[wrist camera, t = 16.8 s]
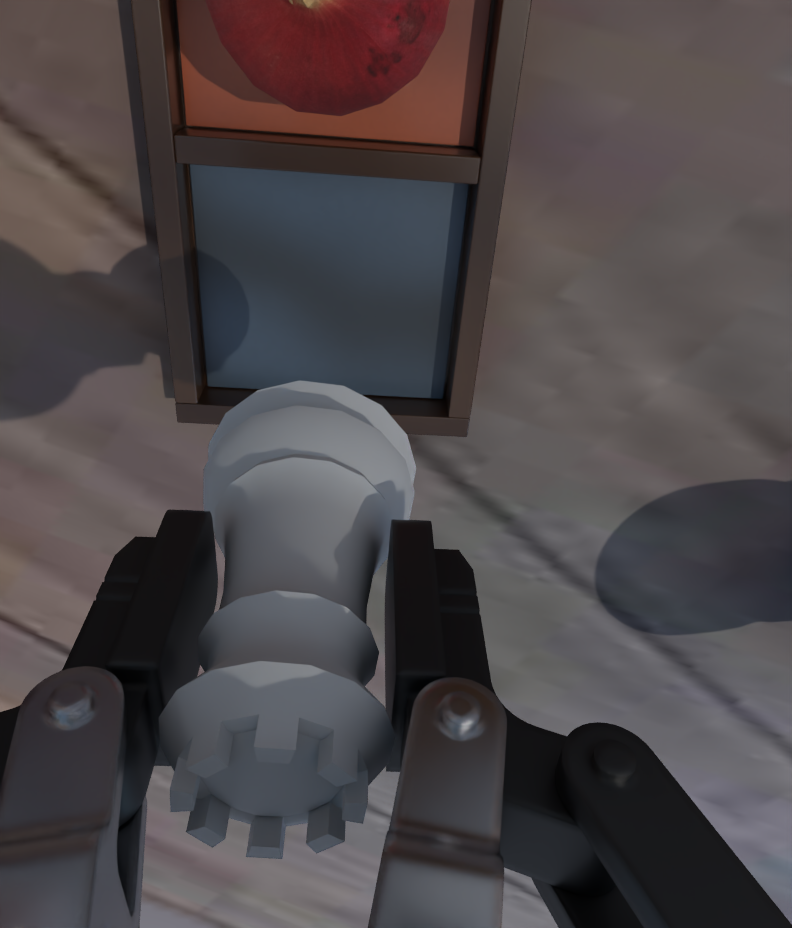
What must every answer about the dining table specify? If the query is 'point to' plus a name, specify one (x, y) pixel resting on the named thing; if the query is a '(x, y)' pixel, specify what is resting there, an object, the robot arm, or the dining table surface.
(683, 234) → the dining table surface
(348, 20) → the pomegranate
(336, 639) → the rook chess piece
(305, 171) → the tray
